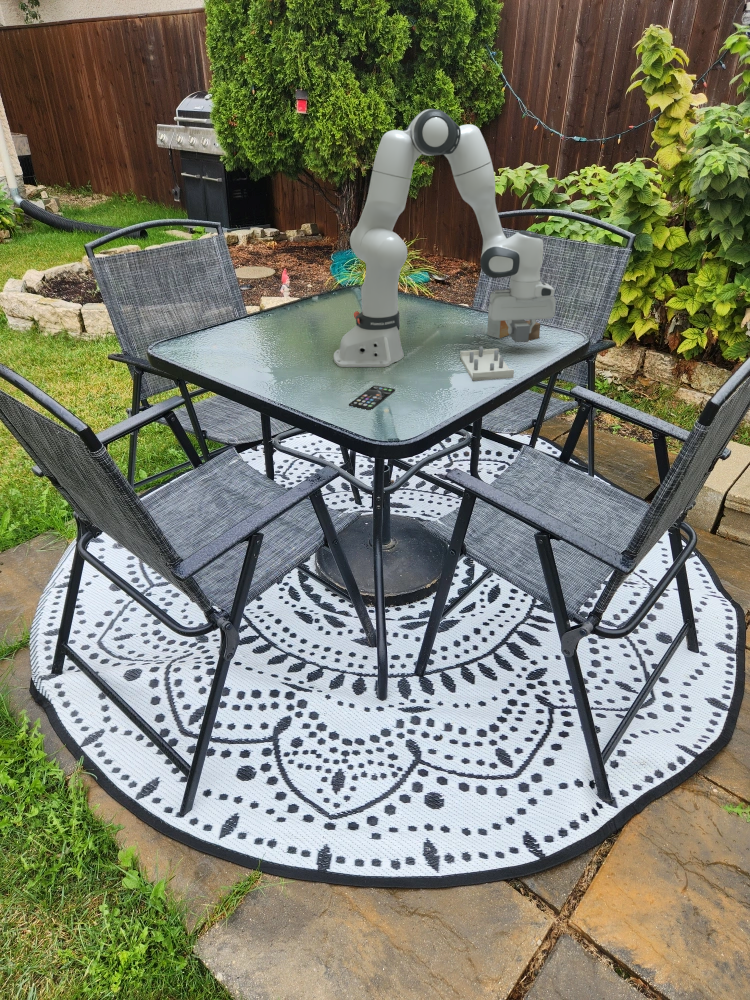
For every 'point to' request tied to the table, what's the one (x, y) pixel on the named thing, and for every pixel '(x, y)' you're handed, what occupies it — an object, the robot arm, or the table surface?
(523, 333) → the block
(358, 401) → the smartphone
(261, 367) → the table surface
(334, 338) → the table surface
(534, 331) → the walnut block
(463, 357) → the peg board
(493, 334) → the small box
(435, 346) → the table surface
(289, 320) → the table surface
